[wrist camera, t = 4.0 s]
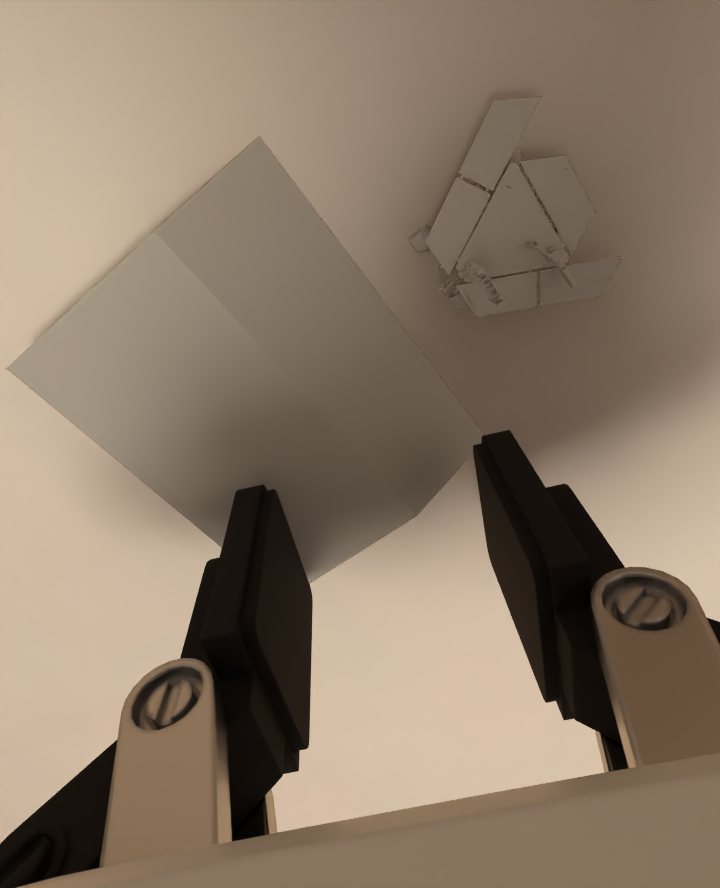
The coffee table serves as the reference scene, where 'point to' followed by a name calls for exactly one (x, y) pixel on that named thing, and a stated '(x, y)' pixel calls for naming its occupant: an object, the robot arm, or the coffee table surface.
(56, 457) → the coffee table surface
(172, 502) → the white pop-up card
